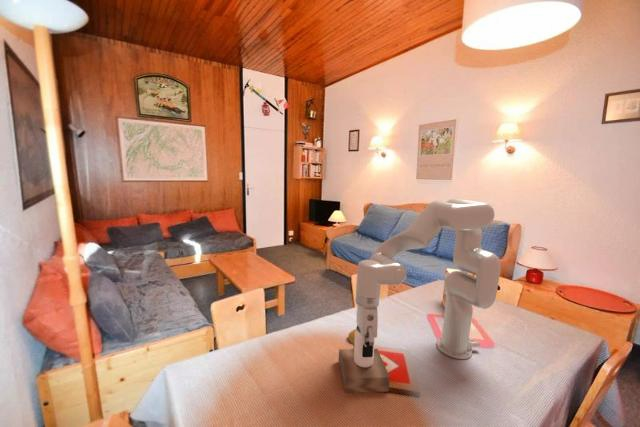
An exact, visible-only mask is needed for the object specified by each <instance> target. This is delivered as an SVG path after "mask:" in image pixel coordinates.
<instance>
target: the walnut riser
mask: <svg viewBox="0 0 640 427" xmlns="http://www.w3.org/2000/svg"><path fill="white" fill-rule="evenodd" d="M382 358H383V357H382V356H381V354H380V352H379V350H378V348H374V358H373V364H372V365H371V366H370V367H368V368H362V367H359V366H358V365H357V364H356V363H355V362H354V348H341V349H339V350H338V366H339V372H340V376H341V380H342V385H343V390H344V393H345V394H346V393H347V394H349V393H381V392H385V393H386V392H389V391H390V383H391V382H390V380H391V377H390V374H389V373H388V370H387V368H386V365H385V364H384V361H383V359H382Z"/></svg>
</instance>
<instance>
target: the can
mask: <svg viewBox="0 0 640 427" xmlns="http://www.w3.org/2000/svg"><path fill="white" fill-rule="evenodd" d="M355 329H356V331H355V342H354V344H353V345H354V346H353V347H354V348H353V349H354V362H355V363H356V364H357V365H358V366H359V367H362V368H368V367H370V366H371V365H372V364H373V358H374V349H375V345H374V346H373V356H372V357H363V356H362V351H363V345H364V338H363V337H362V335H361V333H360V331H359V328H358V326H357V325H356V328H355ZM365 336H368V334H366V335H365ZM373 337H374V336H373ZM374 338H375V337H374ZM367 341H369V338H366V342H367Z"/></svg>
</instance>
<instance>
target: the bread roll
mask: <svg viewBox="0 0 640 427" xmlns="http://www.w3.org/2000/svg"><path fill="white" fill-rule="evenodd" d="M355 331H356V328H355V329H352V331H350V332H349V333H348V336H347V337H348V340H349V341H350V343H352V344H353V345H354V342H355Z"/></svg>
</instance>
